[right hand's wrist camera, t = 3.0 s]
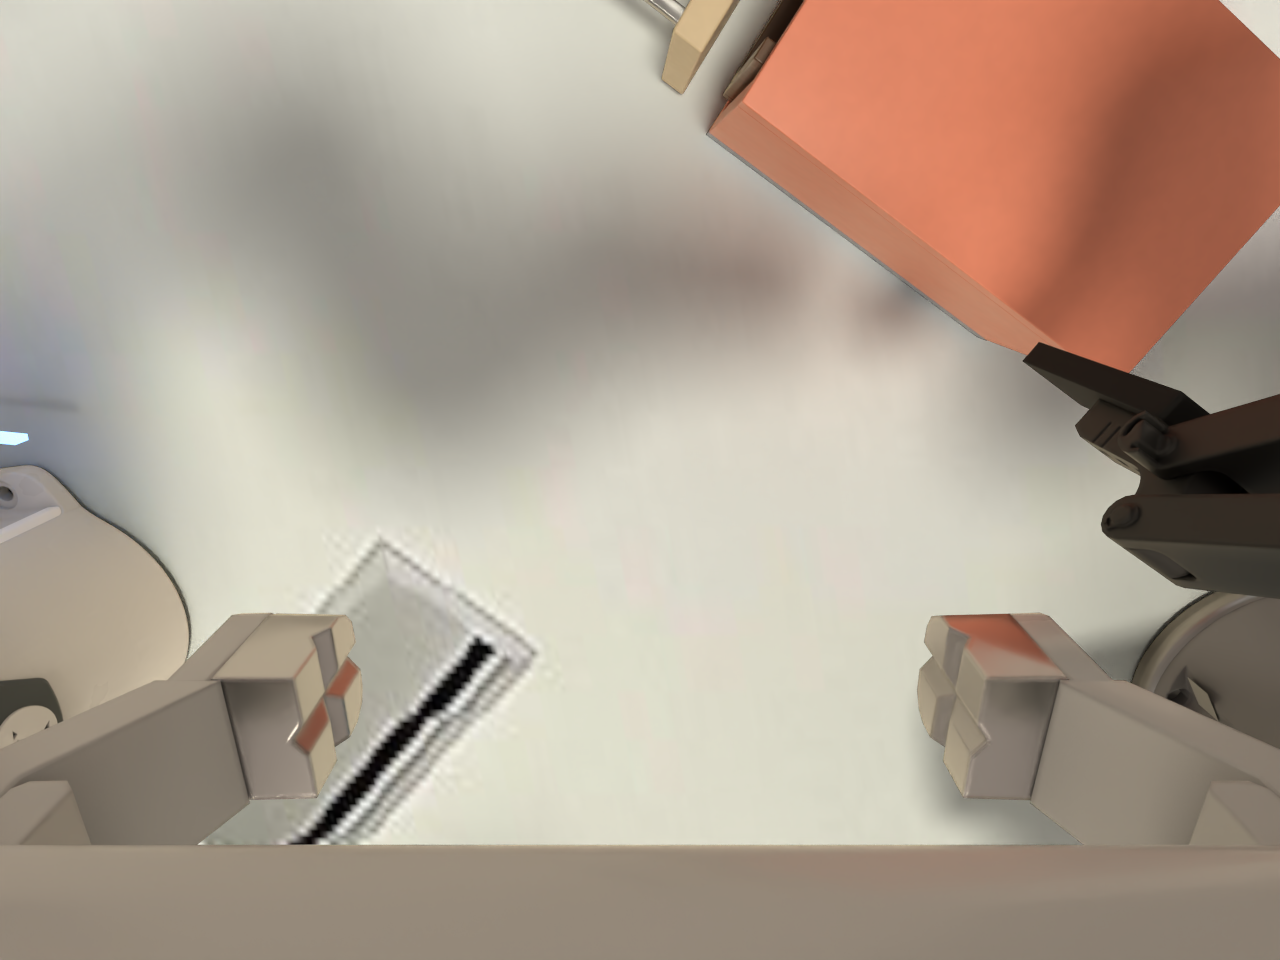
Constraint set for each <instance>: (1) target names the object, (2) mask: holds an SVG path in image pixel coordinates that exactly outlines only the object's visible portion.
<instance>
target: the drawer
mask: <svg viewBox="0 0 1280 960" xmlns="http://www.w3.org/2000/svg"><path fill="white" fill-rule="evenodd" d="M644 1H645V2H646V3H647V4H649V5H650V6H651V7H653V8H654V9H655V10H656V11H658V12H659V13H660V14H662V15H663V16H664V17H665V18H667V19H668V20H669V21H671V22H672V23H673V24H674V25H676V26H675V27H674V29H673V33H672V37H671V41H670V46H669V50H668V54H667V58H666V62H665V66H664V70H663V74H662V80H663V81H665V82H666V83H667V84H669V85H670V86H671V87H673V88H674V89H675V90H677V91H678V92H679V93H680V94H683V93H684V92H685V90H686V88H687V87H688V85H689V83H690V82H691V80H692V78H693V77H694V75H695V73H696V72H697V70H698V69H699V67H700V65H701V64H702V62H703V60H704V59H705V57H706V55H707V54H708V52H709V50H710V49H711V47H712V46H713V44H714V42H715V41H716V39H717V37H718V36H719V34H720V32H721V31H722V29H723V27H724V26H725V24H726V23H727V21H728V19H729V18H730V16H731V14H732V13H733V11H734V9H735V8H736V6H737V4H738V3H739V1H740V0H690V2H689V3H688V5H687V7H686V8H685V7H684V6H682V5H681V4H680V3H678V2H677V1H676V0H644ZM803 1H804V0H782V1H781V2H780V4H779V5H778V7H777V9H776V10H775V12H774V13H773V15H772V17H771V18H770V20H769V21H768V23H767V25H766V26H765V28H764V29H763V31H762V33H761V34H760V36H759V37H758V39H757V41H756V42H755V44H754V45H753V47H752V49H751V50H750V52H749V53H748V55H747V57H746V58H745V60H744V61H743V63H742V65H741V66H740V68H739V69H738V71H737V73H736V74H735V76H734V77H733V79H732V81H731V82H730V84H729V85H728V87H727V89H726V90H725V92H724V93H723V96H724V97H725V98H726V99H727V100H729V101H730V102H732V101H733V100H734V99H735V98H736V97H737V96H738V95H739V94H740V93H741V92H742V91H743V90H744V89H745V88H746V87H747V86H748V85H749V84H750V83H751V82H752V81H753V80H754V78H755V77H756V75H757V74H758V72H759V70H760V69H761V67H762V66H763V64H764V63H765V61H766V59H767V58H768V56H769V55H770V53H771V52H772V50H773V48H774V47H775V45H776V44H777V42H778V40H779V39H780V37H781V36H782V34H783V33H784V31H785V29H786V28H787V26H788V25H789V23H790V22H791V20H792V18H793V17H794V15H795V14H796V12H797V11H798V9H799V7H800V6H801V4H802V3H803Z"/></svg>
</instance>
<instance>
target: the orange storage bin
mask: <svg viewBox="0 0 1280 960" xmlns="http://www.w3.org/2000/svg"><path fill="white" fill-rule="evenodd" d="M706 135H707V136H709V137H710V138H711V139H713V140H714V141H715V142H717V143H718V144H719V145H721V146H722V147H723V148H725V149H726V150H727V151H729V152H730V153H731V154H733V155H734V156H735V157H737V158H738V159H739V160H741V161H742V162H744V163H745V164H746V165H748V166H749V167H750V168H752V169H753V170H754V171H756V172H757V173H758V174H760V175H761V176H762V177H764V178H765V179H766V180H768V181H769V182H770V183H772V184H773V185H774V186H776V187H777V188H778V189H780V190H781V191H782V192H784V193H785V194H786V195H788V196H789V197H790V198H792V199H793V200H794V201H796V202H797V203H798V204H800V205H801V206H802V207H804V208H805V209H806V210H808V211H809V212H810V213H812V214H813V215H814V216H816V217H817V218H819V219H820V220H821V221H823V222H824V223H825V224H827V225H828V226H829V227H831V228H832V229H833V230H835V231H836V232H837V233H839V234H840V235H841V236H843V237H844V238H845V239H847V240H848V241H849V242H851V243H852V244H853V245H855V246H856V247H857V248H859V249H860V250H861V251H863V252H864V253H865V254H867V255H868V256H869V257H871V258H872V259H873V260H875V261H876V262H877V263H879V264H880V265H881V266H883V267H884V268H885V269H887V270H888V271H889V272H891V273H892V274H894V275H895V276H896V277H898V278H899V279H900V280H902V281H903V282H904V283H906V284H907V285H908V286H910V287H911V288H912V289H914V290H915V291H916V292H918V293H919V294H920V295H922V296H923V297H924V298H926V299H927V300H928V301H930V302H931V303H932V304H934V305H935V306H936V307H938V308H939V309H940V310H942V311H943V312H944V313H946V314H947V315H948V316H950V317H951V318H952V319H954V320H955V321H956V322H958V323H959V324H960V325H962V326H963V327H964V328H966V329H967V330H969V331H970V332H971V333H973V334H974V335H975V336H977V337H978V338H981V339H984V340H986V341H987V340H988V341H991V342H993V343H996V344H999V345H1001V346H1004V347H1007V348H1009V349H1012V350H1015V351H1017V352H1020V353H1023V354H1025V355H1028V354H1029V353H1030V352H1031V351H1032V349H1033V348H1034V347H1035V346H1036V345H1037V343H1038V342H1041V343H1044V344H1047V345H1050V346H1052V347H1055V348H1058V349H1061V350H1064V351H1067V352H1070V353H1072V354H1075V355H1078V356H1081V357H1084V358H1087V359H1090V360H1093V361H1095V362H1098V363H1101V364H1104V365H1107V366H1110V367H1113V368H1115V369H1118V370H1121V371H1124V372H1127V373H1130V371H1131V370H1132V369H1133V368H1134V367H1135V366H1136V365H1137V364H1138V363H1139V361H1140V360H1141V359H1142V358H1143V357H1144V356H1145V355H1146V354H1147V353H1148V351H1149V350H1150V349H1151V348H1152V347H1153V346H1154V345H1155V344H1156V343H1157V341H1158V340H1159V339H1160V338H1161V337H1162V336H1163V335H1164V334H1165V333H1166V331H1167V330H1168V329H1169V328H1170V327H1171V326H1172V325H1173V324H1174V323H1175V321H1176V320H1177V319H1178V318H1179V317H1180V316H1181V315H1182V314H1183V313H1184V311H1185V310H1186V309H1187V308H1188V307H1189V306H1190V305H1191V304H1192V303H1193V301H1194V300H1195V299H1196V298H1197V297H1198V296H1199V295H1200V294H1201V292H1202V291H1203V290H1204V289H1205V288H1206V287H1207V286H1208V285H1209V284H1210V282H1211V281H1212V280H1213V279H1214V278H1215V277H1216V276H1217V275H1218V274H1219V272H1220V271H1221V270H1222V269H1223V268H1224V267H1225V266H1226V265H1227V264H1228V262H1229V261H1230V260H1231V259H1232V258H1233V257H1234V256H1235V255H1236V254H1237V252H1238V251H1239V250H1240V249H1241V248H1242V247H1243V246H1244V245H1245V244H1246V242H1247V241H1248V240H1249V239H1250V238H1251V237H1252V236H1253V235H1254V234H1255V232H1256V231H1257V230H1258V229H1259V228H1260V227H1261V226H1262V225H1263V224H1264V222H1265V221H1266V220H1267V219H1268V218H1269V217H1270V216H1271V215H1272V214H1273V212H1274V211H1275V210H1276V209H1277V208H1278V207H1279V206H1280V59H1279V58H1278V57H1277V56H1276V55H1275V54H1274V53H1273V52H1272V51H1271V50H1270V49H1269V48H1268V47H1267V46H1266V45H1265V44H1264V43H1263V42H1262V41H1261V40H1260V39H1259V38H1258V37H1257V36H1255V35H1254V34H1253V33H1252V32H1251V31H1250V30H1249V29H1248V28H1247V27H1246V26H1245V25H1244V24H1243V23H1242V22H1241V21H1240V20H1239V19H1238V18H1237V17H1236V16H1235V15H1234V14H1233V13H1232V12H1230V11H1229V10H1228V9H1227V8H1226V7H1225V6H1224V5H1223V4H1222V3H1221V2H1220V1H1219V0H804V1H803V3H802V4H801V6H800V7H799V9H798V11H797V12H796V14H795V15H794V17H793V18H792V20H791V22H790V23H789V25H788V26H787V28H786V29H785V31H784V33H783V34H782V36H781V37H780V39H779V40H778V42H777V44H776V45H775V47H774V48H773V50H772V52H771V53H770V55H769V56H768V58H767V59H766V61H765V63H764V64H763V66H762V67H761V69H760V70H759V72H758V74H757V75H756V77H755V78H754V80H753V81H752V82H751V83H750V84H749V85H748V86H747V87H746V88H745V89H744V90H743V91H742V92H741V93H740V94H739V95H738V96H737V97H736V98H735V99H734V100H733V101H732V102H730V101H729V100H728V101H727V103H726V104H725V106H724V107H723V109H722V111H721V112H720V114H719V115H718V117H717V119H716V120H715V122H714V123H713V125H712V127H711V128H710V130H709V131H708V132H707V134H706Z"/></svg>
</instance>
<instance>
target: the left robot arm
mask: <svg viewBox="0 0 1280 960" xmlns="http://www.w3.org/2000/svg"><path fill="white" fill-rule="evenodd" d="M1023 362H1024V363H1026V364H1027V365H1028V366H1030V367H1031V368H1032V369H1034V370H1035V371H1036V372H1038V373H1039V374H1040V375H1042V376H1043V377H1044V378H1046V379H1047V380H1048V381H1050V382H1051V383H1052V384H1054V385H1055V386H1056V387H1058V388H1059V389H1060V390H1062V391H1063V392H1064V393H1066V394H1067V395H1068V396H1070V397H1071V398H1072V399H1074V400H1075V401H1076V402H1078V403H1079V404H1080V405H1082V406H1084V407H1086V408H1089V409H1090V410H1089V411H1088V412H1087V413H1086V414H1085V415H1084V416H1083V417H1082V418H1081V420H1080V421H1079V422H1078V423H1077V424H1076V425H1075V427H1076V429H1077V431H1078V433H1079V435H1080V437H1082V438H1083V439H1084V440H1086V441H1087V442H1088V443H1090V444H1091V445H1092V446H1094V447H1095V448H1096V449H1098V450H1099V451H1100V452H1102V453H1103V454H1105V455H1106V456H1107V457H1109V458H1110V459H1111V460H1113V461H1114V462H1116V463H1118V464H1119V465H1121V466H1123V467H1125V468H1127V469H1129V470H1130V471H1132V472H1134V473H1136V474H1138V475H1140V476H1141V480H1140V485H1139V487H1138V490H1137V492H1136V494H1135V495H1130V496H1125V497H1123V498H1121V499H1119V500H1117V501H1116V502H1115V503H1113V504H1112V505H1111V506H1110V507H1109V508H1108V509H1107V511H1106V512H1105V514H1104V515H1103V518H1102V522H1101V527H1102V531H1103V533H1104V534H1105V535H1106V536H1107V537H1109V538H1110V539H1112V540H1113V541H1114V542H1116V543H1117V544H1119V545H1120V546H1121V547H1123V548H1124V549H1126V550H1127V551H1129V552H1130V553H1131V554H1133V555H1134V556H1136V557H1137V558H1138V559H1140V560H1141V561H1143V562H1144V563H1146V564H1147V565H1148V566H1150V567H1151V568H1153V569H1154V570H1155V571H1157V572H1158V573H1160V574H1161V575H1163V576H1164V577H1165V578H1167V579H1168V580H1170V581H1171V582H1172V583H1174V584H1175V585H1177V586H1180V587H1184V588H1190V589H1198V590H1207V591H1215V593H1213V594H1211V595H1209V596H1207V597H1206V598H1204V599H1202V600H1200V601H1199V602H1197V603H1196V604H1194V605H1192V606H1191V607H1189V608H1188V609H1187V610H1185V611H1184V612H1183V613H1181V614H1180V615H1179V616H1178V617H1177V618H1175V619H1174V620H1173V621H1172V622H1171V623H1170V624H1169V625H1168V626H1167V627H1166V628H1165V629H1164V630H1163V631H1162V632H1161V633H1160V634H1159V635H1158V636H1157V638H1156V639H1155V640H1154V641H1153V642H1152V644H1151V645H1150V647H1149V648H1148V649H1147V651H1146V652H1145V654H1144V656H1143V658H1142V659H1141V661H1140V663H1139V665H1138V667H1137V669H1136V671H1135V674H1134V677H1133V680H1132V684H1134V685H1137V686H1139V687H1141V688H1143V689H1146V690H1148V691H1150V692H1152V693H1155V694H1157V695H1159V696H1161V697H1164V698H1166V699H1168V700H1170V701H1173V702H1175V703H1177V704H1179V705H1182V706H1184V707H1186V708H1188V709H1191V710H1193V711H1195V712H1197V713H1199V714H1202V715H1204V716H1206V717H1208V718H1211V719H1213V720H1215V721H1217V722H1220V723H1222V724H1224V725H1226V726H1229V727H1231V728H1233V729H1235V730H1238V731H1240V732H1242V733H1244V734H1247V735H1249V736H1251V737H1253V738H1256V739H1258V740H1260V741H1262V742H1265V743H1267V744H1269V745H1271V746H1274V747H1276V748H1278V749H1280V394H1279V395H1275V396H1272V397H1268V398H1265V399H1261V400H1258V401H1254V402H1251V403H1248V404H1244V405H1241V406H1237V407H1234V408H1230V409H1227V410H1223V411H1220V412H1217V413H1213V414H1209V413H1208V412H1207V411H1205V410H1204V409H1203V408H1202V407H1200V406H1199V405H1198V404H1197V403H1195V402H1194V401H1193V400H1191V399H1190V398H1189V397H1188V396H1186V395H1185V394H1184V393H1183V392H1181V391H1178V390H1176V389H1173V388H1170V387H1167V386H1164V385H1161V384H1158V383H1155V382H1153V381H1150V380H1147V379H1144V378H1141V377H1138V376H1135V375H1133V374H1130V373H1127V372H1124V371H1121V370H1118V369H1115V368H1113V367H1110V366H1107V365H1104V364H1101V363H1098V362H1095V361H1093V360H1090V359H1087V358H1084V357H1081V356H1078V355H1075V354H1072V353H1070V352H1067V351H1064V350H1061V349H1058V348H1055V347H1052V346H1050V345H1047V344H1044V343H1041V342H1038V343H1037V345H1036V346H1035V347H1034V348H1033V349H1032V351H1031V352H1030V353H1029V354H1028V355H1027V356H1026V358H1025V359H1024V360H1023Z"/></svg>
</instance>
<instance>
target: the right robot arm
mask: <svg viewBox="0 0 1280 960" xmlns="http://www.w3.org/2000/svg"><path fill="white" fill-rule="evenodd" d="M27 440H28V435H27V434H23V433H13V432H3V431H0V444H10V445H17V444H19V443H22V442H24V441H27ZM7 488H9V489H10V490H11V491H12V493H13V495H12V494H11V493H10V492H9V491H8V489H7ZM355 643H356V640H355V635H354V630H353V625H352V621H351V620H350V619H349V618H348V617H347V616H346V615H331V614H280V613H277V614H273V613H241V614H236V615H232V616H231V617H230V618H229V619H228V620H227V621H226V622H225V623H224V624H223V625H222V626H221V627H220V628H219V629H218V630H217V631H216V632H215V633H214V634H213V635H212V636H211V637H210V638H209V639H208V640H207V641H206V642H205V643H204V644H203V645H202V646H201V647H200V648H199V649H198V650H197V651H196V652H195V653H194V654H193V655H192V656H191V657H190V658H189V659H188V660H187V661H186V662H185V660H186V656H187V652H188V645H189V629H188V622H187V617H186V613H185V610H184V607H183V604H182V601H181V599H180V597H179V594H178V592H177V590H176V589H175V587H174V585H173V583H172V582H171V580H170V579H169V577H168V575H167V574H166V573H165V571H164V570H163V569H162V567H161V566H160V565H159V564H158V563H157V562H156V560H155V559H154V558H153V557H152V556H151V555H150V554H149V553H148V552H147V551H146V550H145V549H143V548H142V547H141V546H140V545H139V544H138V543H136V542H135V541H134V540H133V539H131V538H130V537H129V536H127V535H126V534H125V533H123V532H121V531H120V530H118V529H117V528H115V527H113V526H112V525H110V524H108V523H107V522H105V521H103V520H101V519H100V518H98V517H96V516H95V515H93V514H92V513H90V512H89V511H87V510H86V509H85V508H83V507H82V506H81V505H80V504H79V503H78V502H77V501H76V499H75V498H74V497H73V496H72V495H71V494H70V493H69V492H68V491H67V489H66V488H65V487H64V486H63V485H62V484H61V483H60V482H59V481H58V480H57V479H56V478H55V477H54V476H52V475H51V474H50V473H49V472H47V471H46V470H44V469H42V468H40V467H37V466H32V465H23V466H15V467H7V468H0V960H1280V749H1278V748H1276V747H1274V746H1271V745H1269V744H1267V743H1265V742H1262V741H1260V740H1258V739H1256V738H1253V737H1251V736H1249V735H1247V734H1244V733H1242V732H1240V731H1238V730H1235V729H1233V728H1231V727H1229V726H1226V725H1224V724H1222V723H1220V722H1217V721H1215V720H1213V719H1211V718H1208V717H1206V716H1204V715H1202V714H1199V713H1197V712H1195V711H1193V710H1191V709H1188V708H1186V707H1184V706H1182V705H1179V704H1177V703H1175V702H1173V701H1170V700H1168V699H1166V698H1164V697H1161V696H1159V695H1157V694H1155V693H1152V692H1150V691H1148V690H1146V689H1143V688H1141V687H1139V686H1137V685H1134V684H1132V683H1130V682H1128V681H1125V680H1112V679H1111V678H1110V677H1109V676H1108V675H1107V674H1106V673H1105V672H1104V671H1103V670H1102V669H1101V668H1100V667H1099V666H1098V665H1097V664H1096V663H1095V662H1094V661H1093V660H1092V659H1091V658H1090V657H1089V656H1088V655H1087V654H1086V653H1085V652H1084V651H1083V650H1082V649H1081V648H1080V647H1079V646H1078V645H1077V644H1076V643H1075V642H1074V641H1073V640H1072V639H1071V638H1070V637H1069V636H1068V634H1067V633H1066V632H1065V631H1064V630H1063V629H1062V628H1061V627H1060V626H1059V625H1058V624H1057V623H1056V622H1055V621H1054V620H1053V619H1052V618H1051V617H1050V616H1047V615H1045V614H1042V613H1017V614H982V615H942V616H931V619H930V621H929V623H928V625H927V628H926V634H925V639H924V643H925V644H926V646H927V648H928V649H929V651H930V652H931V654H932V657H931V658H930V659H929V660H928V661H927V662H926V663H925V664H924V665H923V666H922V667H921V668H920V670H919V678H918V686H917V695H918V705H919V712H920V715H921V718H922V721H923V724H924V726H925V728H926V730H927V732H928V734H929V736H930V737H931V738H932V739H934V740H935V741H937V742H938V743H940V744H941V745H943V746H944V747H945V751H944V757H943V762H944V764H945V766H946V767H947V769H948V771H949V773H950V775H951V776H952V778H953V780H954V782H955V784H956V786H957V787H958V789H959V791H960V793H961V795H962V796H963V798H978V799H1014V800H1031V801H1030V803H1031V804H1032V805H1033V806H1035V807H1036V808H1037V809H1038V810H1040V811H1041V812H1042V813H1043V814H1045V815H1046V816H1047V817H1049V818H1050V819H1051V820H1052V821H1054V822H1055V823H1056V824H1057V825H1059V826H1060V827H1061V828H1063V829H1064V830H1065V831H1066V832H1068V833H1069V834H1070V835H1071V836H1073V837H1074V838H1075V839H1077V840H1078V841H1079V842H1080V843H1082V844H1083V845H197V844H199V843H200V842H201V841H202V840H204V839H205V838H206V837H207V836H209V835H210V834H211V833H213V832H214V831H215V830H216V829H218V828H219V827H220V826H222V825H223V824H224V823H225V822H227V821H228V820H229V819H230V818H232V817H233V816H234V815H236V814H237V813H238V812H239V811H241V810H242V809H243V808H244V807H246V806H247V805H248V804H250V801H249V800H265V799H300V798H317V797H318V795H319V793H320V791H321V789H322V787H323V786H324V784H325V782H326V780H327V778H328V777H329V775H330V773H331V771H332V769H333V767H334V766H335V764H336V762H337V757H336V751H335V747H336V746H337V745H339V744H340V743H342V742H343V741H345V740H346V739H348V738H349V737H350V736H351V734H352V732H353V730H354V728H355V726H356V724H357V722H358V718H359V714H360V710H361V705H362V693H363V684H362V677H361V670H360V668H359V667H358V666H357V665H356V664H355V663H354V662H353V661H352V660H351V659H350V658H349V657H348V654H349V652H350V651H351V649H352V648H353V646H354V644H355Z"/></svg>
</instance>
